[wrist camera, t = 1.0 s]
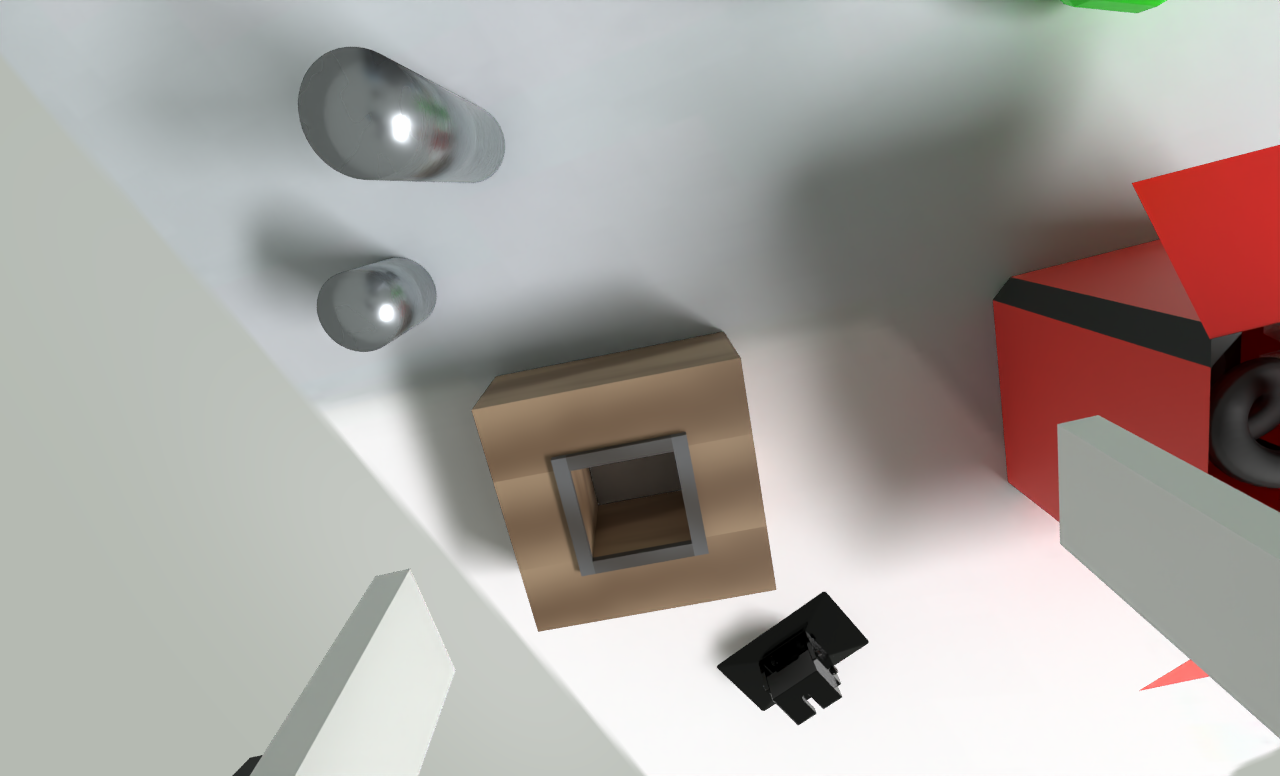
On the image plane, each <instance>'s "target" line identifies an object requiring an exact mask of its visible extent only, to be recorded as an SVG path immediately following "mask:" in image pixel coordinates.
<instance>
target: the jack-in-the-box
mask: <svg viewBox="0 0 1280 776" xmlns="http://www.w3.org/2000/svg"><path fill="white" fill-rule="evenodd" d="M1132 185H1133V187H1134V189H1135V191H1136V193H1137V195H1138V197H1139V199H1140V201H1141V203H1142V205H1143V207H1144V209H1145V211H1146V213H1147V215H1148V217H1149V219H1150V221H1151V223H1152V225H1153V227H1154V229H1155V231H1156V233H1157V235H1158V237H1159V240H1155V241H1151V242H1147V243H1143V244H1139V245H1135V246H1131V247H1127V248H1123V249H1119V250H1115V251H1112V252H1108V253H1104V254H1100V255H1096V256H1092V257H1088V258H1084V259H1080V260H1076V261H1072V262H1068V263H1064V264H1060V265H1056V266H1052V267H1048V268H1044V269H1040V270H1036V271H1032V272H1028V273H1024V274H1020V275H1016V276H1012V277H1010V278H1009V280H1008V281H1007V282H1006V284H1005V285H1004V286H1003V287H1002V289H1001V290H1000V291H999V293H998V294H997V295H996V297H995V298H994V299H993V308H994V320H995V332H996V344H997V356H998V368H999V380H1000V392H1001V404H1002V416H1003V428H1004V440H1005V453H1006V465H1007V477H1008V482H1009V483H1010V484H1011V485H1013V486H1014V487H1015V488H1016V489H1018V490H1019V491H1020V492H1022V493H1023V494H1024V495H1025V496H1027V497H1028V498H1029V499H1031V500H1032V501H1033V502H1034V503H1036V504H1037V505H1038V506H1039V507H1041V508H1042V509H1043V510H1045V511H1046V512H1047V513H1048V514H1050V515H1051V516H1052V517H1054V518H1055V519H1056V520H1057V521H1059V522H1060V515H1059V474H1058V434H1057V424H1060V423H1065V422H1069V421H1074V420H1078V419H1083V418H1087V417H1092V416H1096V415H1099V416H1101V417H1103V418H1105V419H1107V420H1108V421H1110V422H1112V423H1114V424H1116V425H1118V426H1120V427H1121V428H1123V429H1125V430H1127V431H1129V432H1131V433H1133V434H1135V435H1136V436H1138V437H1140V438H1142V439H1144V440H1146V441H1148V442H1149V443H1151V444H1153V445H1155V446H1157V447H1159V448H1161V449H1162V450H1164V451H1166V452H1168V453H1170V454H1172V455H1174V456H1176V457H1177V458H1179V459H1181V460H1183V461H1185V462H1187V463H1189V464H1190V465H1192V466H1194V467H1196V468H1198V469H1200V470H1202V471H1203V472H1205V473H1207V474H1209V475H1211V476H1213V477H1215V478H1217V479H1218V480H1220V481H1222V482H1224V483H1226V484H1228V485H1230V486H1231V487H1233V488H1235V489H1237V490H1239V491H1241V492H1243V493H1244V494H1246V495H1248V496H1250V497H1252V498H1254V499H1256V500H1258V501H1259V502H1261V503H1263V504H1265V505H1267V506H1269V507H1271V508H1272V509H1274V510H1276V511H1278V512H1280V145H1277V146H1273V147H1269V148H1266V149H1262V150H1258V151H1254V152H1250V153H1246V154H1242V155H1239V156H1235V157H1231V158H1227V159H1223V160H1219V161H1215V162H1211V163H1208V164H1204V165H1200V166H1196V167H1192V168H1188V169H1184V170H1181V171H1177V172H1173V173H1169V174H1165V175H1161V176H1157V177H1153V178H1150V179H1146V180H1142V181H1138V182H1134V183H1132ZM1208 676H1209V675H1207V674H1206V673H1205V672H1204V671H1203V670H1202V669H1201V668H1200V667H1198V666H1197V665H1196V664H1195V663H1194V662H1193V661H1192V660H1191V659H1190V660H1189V661H1187V662H1185V663H1184V664H1182V665H1180V666H1179V667H1177V668H1176V669H1174V670H1172V671H1171V672H1169V673H1167V674H1166V675H1164V676H1162V677H1161V678H1159V679H1157V680H1156V681H1154V682H1152V683H1151V684H1149V685H1148V686H1146V687H1144V688H1143V689H1141V690H1145V689H1150V688H1155V687H1160V686H1165V685H1169V684H1174V683H1179V682H1184V681H1189V680H1194V679H1198V678H1203V677H1208ZM1139 691H1140V690H1139Z"/></svg>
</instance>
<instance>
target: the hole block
mask: <svg viewBox="0 0 1280 776" xmlns="http://www.w3.org/2000/svg"><path fill="white" fill-rule="evenodd" d="M472 413H473V417H474V420H475V423H476V427H477V430H478V433H479V437H480V440H481V443H482V447H483V450H484V453H485V457H486V460H487V463H488V467H489V470H490V473H491V477H492V480H493V483H494V486H495V490H496V493H497V496H498V500H499V503H500V506H501V510H502V513H503V516H504V520H505V523H506V526H507V530H508V533H509V536H510V540H511V543H512V546H513V550H514V553H515V556H516V560H517V563H518V566H519V569H520V573H521V576H522V579H523V583H524V586H525V589H526V593H527V596H528V599H529V603H530V606H531V609H532V613H533V616H534V619H535V623H536V626H537V629H538V632H539V631H545V630H550V629H556V628H562V627H568V626H573V625H579V624H585V623H590V622H596V621H602V620H607V619H613V618H619V617H624V616H630V615H636V614H641V613H647V612H653V611H658V610H664V609H670V608H675V607H681V606H687V605H692V604H698V603H704V602H709V601H715V600H721V599H727V598H732V597H738V596H744V595H749V594H755V593H761V592H766V591H772V590H776V584H775V578H774V571H773V565H772V558H771V552H770V545H769V539H768V533H767V526H766V520H765V513H764V507H763V500H762V494H761V487H760V481H759V474H758V468H757V461H756V455H755V448H754V442H753V435H752V429H751V422H750V416H749V410H748V403H747V397H746V390H745V384H744V377H743V371H742V364H741V358H740V356H739V355H738V353H737V352H736V350H735V348H734V347H733V345H732V344H731V342H730V341H729V339H728V338H727V336H726V334H725V333H724V332H719V333H714V334H709V335H704V336H699V337H694V338H689V339H684V340H679V341H673V342H668V343H663V344H658V345H653V346H648V347H643V348H638V349H633V350H628V351H623V352H618V353H612V354H607V355H602V356H597V357H592V358H587V359H582V360H577V361H572V362H567V363H562V364H557V365H552V366H546V367H541V368H536V369H531V370H526V371H521V372H516V373H511V374H506V375H501V376H496V377H495V378H494V380H493V381H492V382H491V384H490V385H489V387H488V388H487V389H486V391H485V392H484V394H483V395H482V396H481V398H480V399H479V400H478V402H477V403H476V405H475V406H474V407H473V409H472ZM669 452H674V454H675V459H676V464H677V470H678V475H679V480H680V485H681V490H679V491H674V492H668V493H663V494H657V495H652V496H647V497H641V498H636V499H630V500H625V501H620V502H614V503H609V504H603V505H598V502H597V498H596V494H595V490H594V486H593V482H592V478H591V474H590V470H589V468H590V467H595V466H600V465H606V464H611V463H616V462H622V461H627V460H632V459H638V458H643V457H648V456H654V455H659V454H664V453H669Z"/></svg>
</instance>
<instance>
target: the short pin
mask: <svg viewBox="0 0 1280 776" xmlns="http://www.w3.org/2000/svg"><path fill="white" fill-rule="evenodd" d="M435 304H436V288H435V285H434V282H433V280H432V278H431V276H430V275H429V273H428V272H427V271H426V270H425V269H424V268H423V267H422V266H421V265H419V264H418V263H416V262H414V261H412V260H409V259H406V258H390V259H386V260H383V261H379V262H376V263H372V264H369V265H365V266H362V267H359V268H355V269H352V270H348V271H345V272H341V273H339V274H336V275H334V276H333V277H331V278H330V279H329V280H327V281H326V283H325V284H324V285H323V286H322V288H321V290H320V292H319V295H318V299H317V313H318V317H319V320H320V323H321V325H322V327H323V328H324V330H325V331H326V333H327V334H328V335H329V336H330V337H331V338H332V339H333V340H334V341H335V342H336V343H338V344H339V345H341V346H343V347H345V348H347V349H350V350H354V351H360V352H368V351H374V350H377V349H380V348H382V347H383V346H385V345H387V344H388V343H390V342H391V341H393V340H394V339H396V338H398V337H399V336H401V335H402V334H404V333H405V332H407V331H409V330H410V329H412V328H413V327H415V326H416V325H418V324H419V323H421V322H423V321H424V320H425V319H427V318H428V317H429V315H430V314H431V313H432V311H433V309H434V307H435Z"/></svg>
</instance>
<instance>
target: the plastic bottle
mask: <svg viewBox="0 0 1280 776" xmlns="http://www.w3.org/2000/svg"><path fill="white" fill-rule="evenodd" d="M1061 1H1062V2H1063V4H1066V5H1069V6H1073V7H1081V8H1090V9H1100V10H1110V11H1120V12H1130V13H1139V12H1142V11H1145V10H1148V9H1151V8H1154V7H1157V6H1158V5H1160V4H1162V3H1163V2H1165V1H1167V0H1061Z"/></svg>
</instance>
